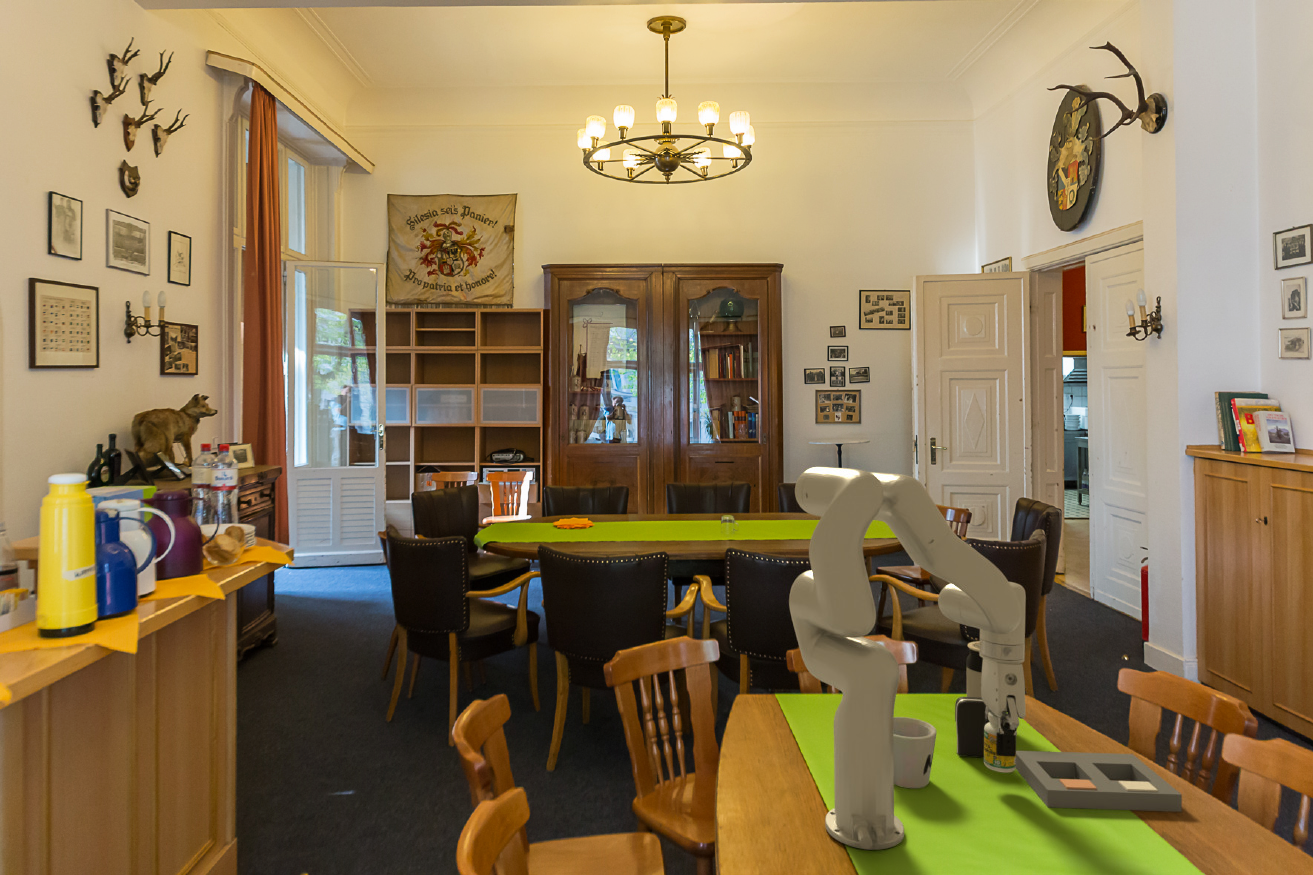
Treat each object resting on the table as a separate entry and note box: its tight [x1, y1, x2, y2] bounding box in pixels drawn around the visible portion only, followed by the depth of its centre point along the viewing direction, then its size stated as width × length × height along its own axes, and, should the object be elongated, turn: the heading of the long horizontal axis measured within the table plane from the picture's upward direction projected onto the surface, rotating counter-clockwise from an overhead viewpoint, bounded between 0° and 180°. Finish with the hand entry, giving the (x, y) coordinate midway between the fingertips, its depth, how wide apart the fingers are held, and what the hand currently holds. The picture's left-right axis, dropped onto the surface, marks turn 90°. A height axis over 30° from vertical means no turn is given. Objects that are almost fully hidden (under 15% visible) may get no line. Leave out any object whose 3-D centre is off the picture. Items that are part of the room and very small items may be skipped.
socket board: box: [1015, 750, 1183, 813], centre depth 139 cm, size 16×22×3 cm
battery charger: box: [954, 696, 988, 759], centre depth 154 cm, size 7×4×11 cm, turn 79°
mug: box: [893, 716, 937, 789], centre depth 144 cm, size 10×15×10 cm
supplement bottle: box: [983, 711, 1016, 773], centre depth 139 cm, size 5×5×10 cm
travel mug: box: [966, 640, 983, 698], centre depth 167 cm, size 8×8×18 cm
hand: (999, 747), depth 139 cm, fingers closed on supplement bottle, 5 cm apart
